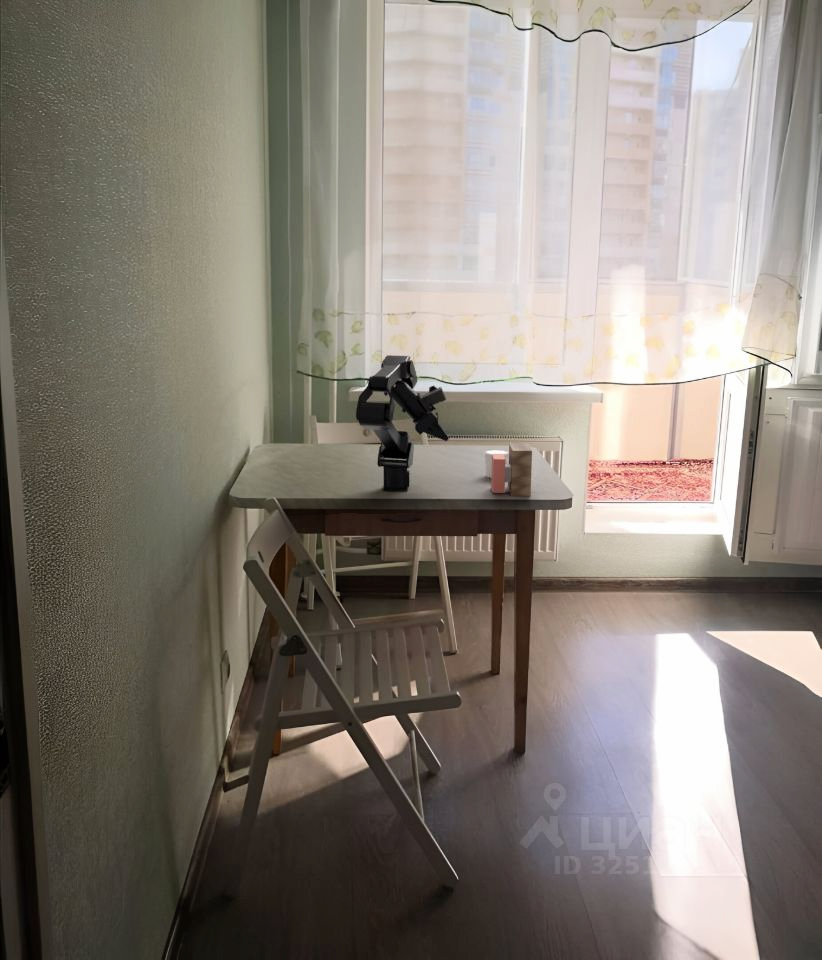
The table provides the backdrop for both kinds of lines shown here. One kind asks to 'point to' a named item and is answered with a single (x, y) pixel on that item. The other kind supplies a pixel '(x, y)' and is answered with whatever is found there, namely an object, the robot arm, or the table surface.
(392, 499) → the table surface
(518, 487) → the block
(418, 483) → the table surface
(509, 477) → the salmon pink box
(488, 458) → the shot glass
